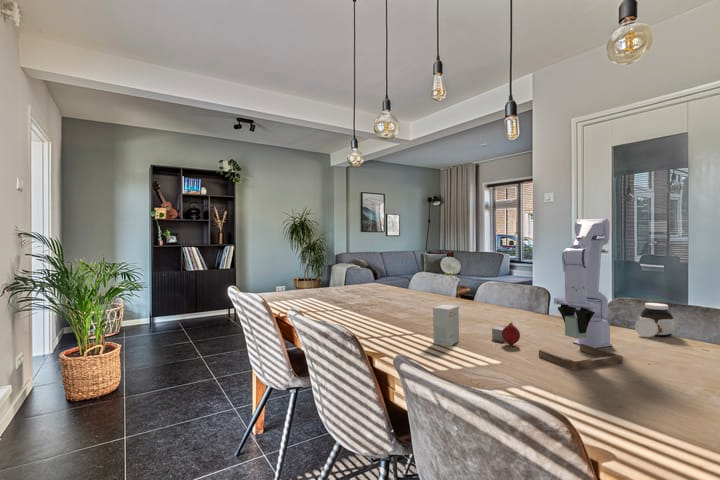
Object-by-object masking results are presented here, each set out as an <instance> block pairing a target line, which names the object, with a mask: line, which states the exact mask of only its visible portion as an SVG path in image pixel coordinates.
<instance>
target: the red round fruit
mask: <svg viewBox="0 0 720 480" xmlns="http://www.w3.org/2000/svg"><path fill="white" fill-rule="evenodd" d="M503 328H504V329H503V331H502V337H503V339H504V342H505V343H506V344H508V345H509V346H514V344H515V345H516V343H518V342H519V340H520V338H521V333H520V331H519V328H517V327H516V326H515V325H514V324H513V322H511V321H510V322H509V323H508V325H505V326H504V327H503Z"/></svg>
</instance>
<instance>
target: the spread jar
mask: <svg viewBox="0 0 720 480" xmlns="http://www.w3.org/2000/svg"><path fill="white" fill-rule="evenodd" d="M634 330H635V332H636V333H637V334H638V335H639V336H641V337H643V338H652V337H653V338H669V337H671V336H672V335H673V334H674V332H675V319H674V315H673V313H672V312H671V311H670V310H669V305H668V304H666V303H661V302H660V303H659V302H645V304H644V309H642V310H641V312H640V313H639V319H638V320H636V322H635V323H634Z"/></svg>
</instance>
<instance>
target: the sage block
mask: <svg viewBox="0 0 720 480" xmlns="http://www.w3.org/2000/svg"><path fill="white" fill-rule="evenodd" d="M564 335H565V337H569V338H573V339H576V340H578V338H585V337H586V333H579V329H578V319H577V316H576V315H571V316H565V323H564Z"/></svg>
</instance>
